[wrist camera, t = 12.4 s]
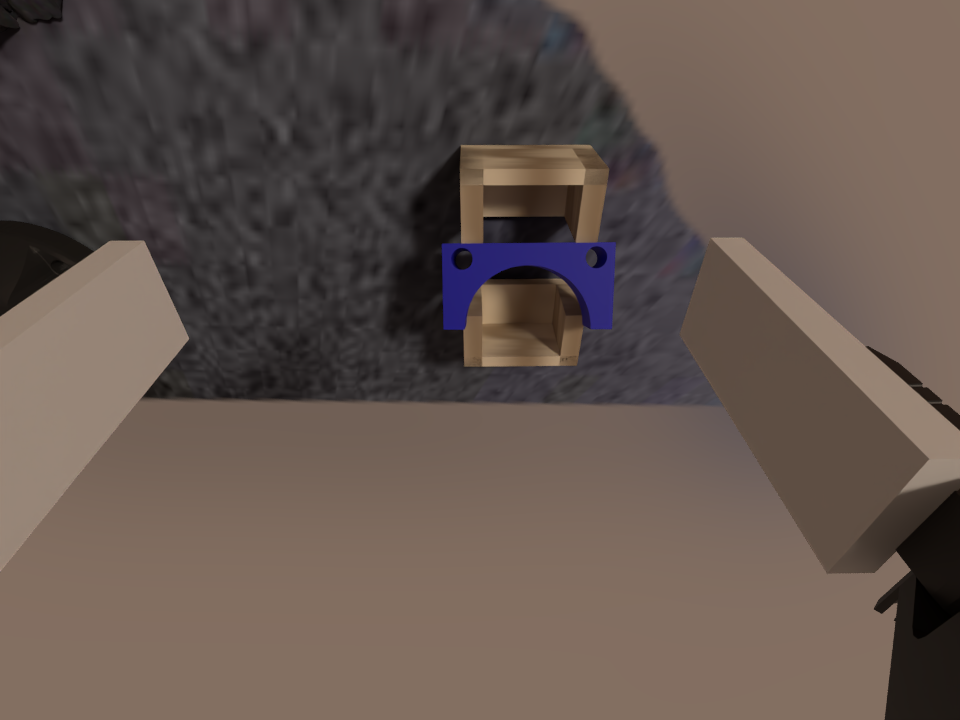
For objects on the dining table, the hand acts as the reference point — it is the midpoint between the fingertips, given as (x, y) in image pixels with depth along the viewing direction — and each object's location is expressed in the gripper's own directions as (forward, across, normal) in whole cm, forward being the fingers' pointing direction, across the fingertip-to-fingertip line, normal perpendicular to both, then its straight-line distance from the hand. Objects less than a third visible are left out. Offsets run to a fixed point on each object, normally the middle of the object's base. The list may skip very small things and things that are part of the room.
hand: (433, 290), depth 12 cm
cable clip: (+22, +5, -9) cm, 25 cm away
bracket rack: (+27, +5, -11) cm, 29 cm away
